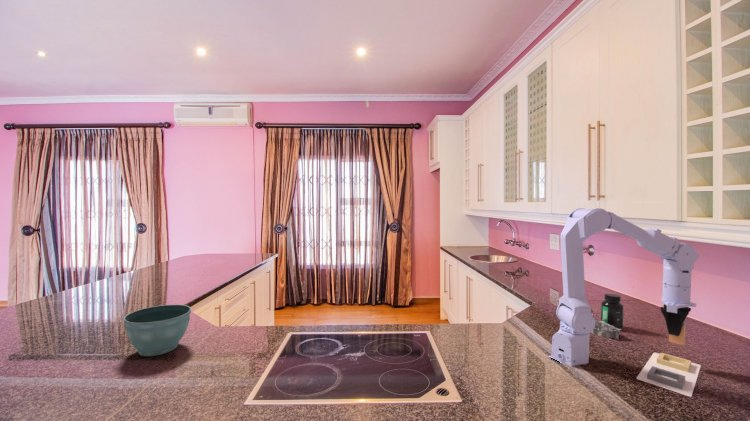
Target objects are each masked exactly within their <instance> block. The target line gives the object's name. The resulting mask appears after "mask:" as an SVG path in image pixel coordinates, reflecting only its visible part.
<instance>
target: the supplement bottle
mask: <svg viewBox="0 0 750 421" xmlns="http://www.w3.org/2000/svg"><path fill="white" fill-rule="evenodd" d="M621 301H622V299H621V295H619V294H615V293H604V300H603V301H601V303H600V321H604V322H606V323H607V324H609V325H611V326H614V327H616V328H618V329H621V330H620V331H622V330H623V329H624V320H625V319H624V314H625V312H624V311H625V306H624V305H623V303H621Z"/></svg>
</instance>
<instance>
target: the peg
mask: <svg viewBox="0 0 750 421" xmlns="http://www.w3.org/2000/svg"><path fill="white" fill-rule="evenodd" d="M686 323H687V322H686V320H685V321H684V322H683V325H682V329H681V332H680V335H679V336H675V335H671V334H669V333H668V342H670V343H672V344H677V345H680V346H684V345H685V343H686V325H687V324H686Z"/></svg>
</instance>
